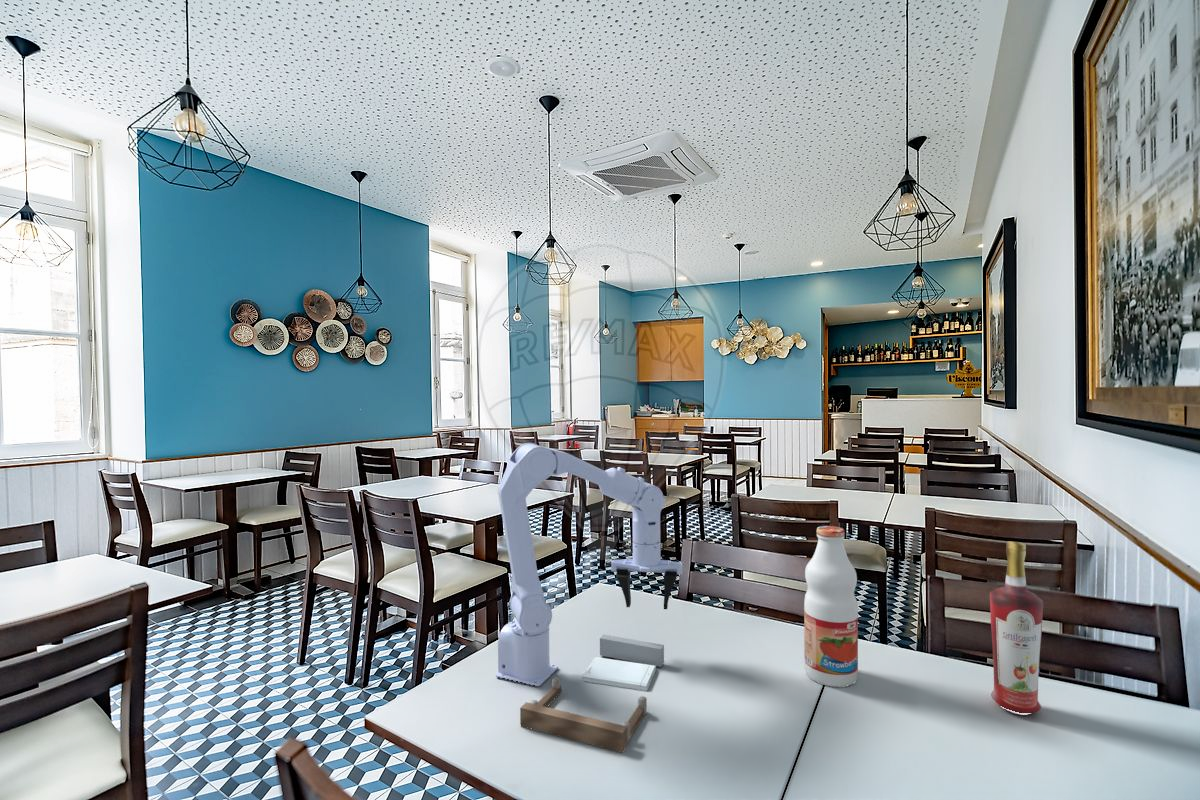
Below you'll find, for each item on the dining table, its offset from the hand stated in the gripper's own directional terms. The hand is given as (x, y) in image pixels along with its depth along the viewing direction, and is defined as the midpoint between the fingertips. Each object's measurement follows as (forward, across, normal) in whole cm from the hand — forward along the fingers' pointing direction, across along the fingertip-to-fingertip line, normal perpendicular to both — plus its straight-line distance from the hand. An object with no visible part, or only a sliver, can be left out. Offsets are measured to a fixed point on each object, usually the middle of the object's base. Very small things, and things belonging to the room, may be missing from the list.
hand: (647, 606), depth 118 cm
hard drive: (+10, -4, -10) cm, 15 cm away
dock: (+10, -8, -25) cm, 28 cm away
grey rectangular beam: (+10, -3, -4) cm, 11 cm away
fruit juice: (+10, +35, -5) cm, 37 cm away
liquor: (+10, +63, -12) cm, 65 cm away
